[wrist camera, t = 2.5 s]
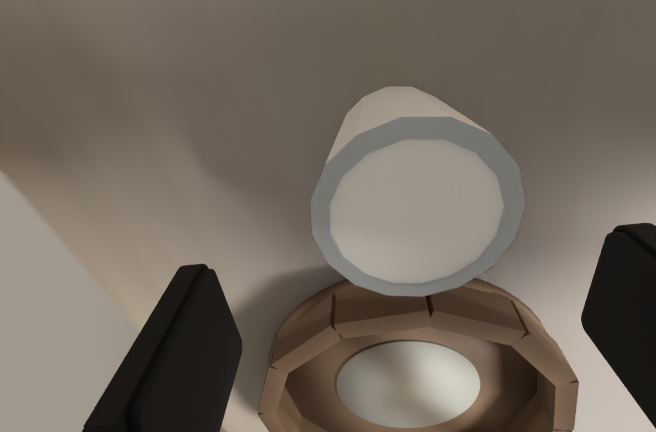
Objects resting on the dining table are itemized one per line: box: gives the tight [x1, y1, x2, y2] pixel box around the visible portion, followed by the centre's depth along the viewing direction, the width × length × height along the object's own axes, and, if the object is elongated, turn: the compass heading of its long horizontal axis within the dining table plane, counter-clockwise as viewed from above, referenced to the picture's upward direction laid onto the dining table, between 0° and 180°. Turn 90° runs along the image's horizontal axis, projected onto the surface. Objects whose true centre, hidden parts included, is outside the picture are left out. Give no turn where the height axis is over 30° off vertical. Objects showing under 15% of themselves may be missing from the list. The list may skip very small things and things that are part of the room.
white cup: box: [310, 86, 526, 297], centre depth 15 cm, size 7×7×7 cm
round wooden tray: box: [258, 278, 579, 432], centre depth 25 cm, size 20×20×4 cm
